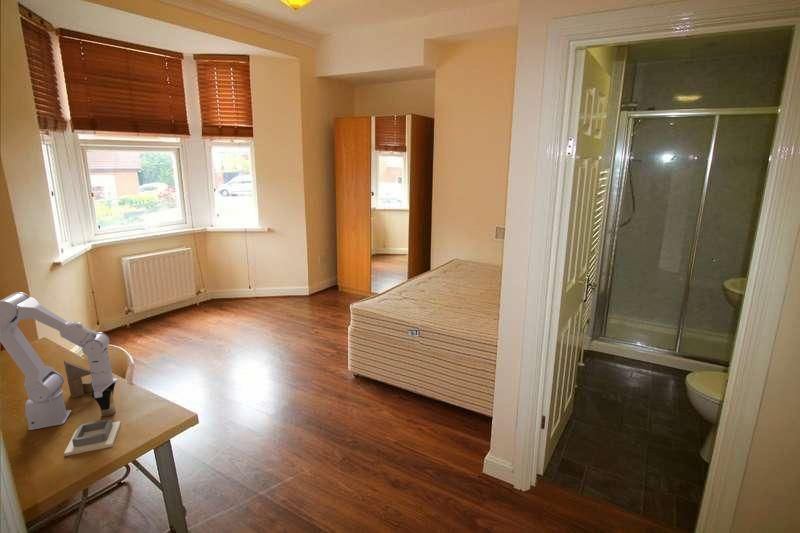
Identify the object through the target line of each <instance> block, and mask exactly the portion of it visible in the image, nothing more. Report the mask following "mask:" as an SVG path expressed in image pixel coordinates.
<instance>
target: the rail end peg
mask: <svg viewBox="0 0 800 533" xmlns="http://www.w3.org/2000/svg"><path fill="white" fill-rule="evenodd" d="M105 390H111V389H105ZM99 408H100V407H99ZM100 413H101V417H110V416H113V415H114V414H115V413H116V404H115V399H114V393H113V392H111V395H110V408H109V409H107V410H102V409H101V408H100Z"/></svg>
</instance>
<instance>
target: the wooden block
mask: <svg viewBox="0 0 800 533" xmlns="http://www.w3.org/2000/svg"><path fill="white" fill-rule="evenodd" d="M63 364H64V365H63V366H64V370H65V373H66V377H67V379H66V380H67V385H68V389H69V393H70V396H71V397H72V398H73V399H74V398H78V397H82V396H84V395H85V393H92V392H94V389H93V387H92V378H91V379H87V380H85V381H83V380H82V379H83V378H82V377H86V376H89V375H90V376H91V373H90V369H89V368H86V367H84V366H80V365H77V364H75V363H73V362H70V361H68V360H66V359H64V360H63Z"/></svg>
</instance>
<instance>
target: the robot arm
mask: <svg viewBox="0 0 800 533" xmlns="http://www.w3.org/2000/svg"><path fill="white" fill-rule="evenodd" d="M30 319H32V320H34V321H37V322H39V323H41V324H43V325H45V326H48V327H50V328H52V329H54V330H56V331H58V332H59V335H60V337H61V338H63V339H65V340H67V341H69V342H70V343H72V344H74V345H76V346H78V347H79V348H81V351H82V352H83V354H84V355H86V357H87V361H88V367H89V370H90V373H91V374H90V377H91V379H92V387H93V389H94V391H93V392H90V396H91V398H93V399H94V401H96V402H97V404H98V406H99V408H101V409H102V410H107V409H109V408H110V395H111V392H113V394H114V391H115V386H116V383H117V382H118V381H119V379H118V377H114V375H113V370H112V365H111V364H112V363H111V358H110V353H109V348H108V346H109V344H110V342H111V340H110V337H109V336H108V335H107V334H106V333H105V332H100V331H99V332H98V331H97V332H96V331H95V330H94V331H93V330H92V329H90V328H88V327H86V326H84V324H83V323H82V322H77V321H67V320H65V319H64V318H63V317H60V316H59V315H58V314H56V313H54V312H52V311H51V310H50V309H48V308H47V307H45V306H43V305H42V304H40V302H38V300H37V299H36V298H34V297H33V296H30V295H28V294H27V293H25V292H21V291H17V292H13V293H11V294H9V295H8V296H6V297H4V298H2V299H0V344H1V345H2V346H3V347H4V349H5V350H6V352H7V353H8V355H9V357H11V359H12V360H13V361H14V363H15V364H16V365H17V368H19V370H20V371H21V372H22V374H23V375H24V376H25V378H24V384H23V387H24V388H25V389H26V390H25V391H26V397H27V398H28V399H27V400H26V402H25V406H24V412H25V418H26V421H27V425H28V428H27V429H28V431H32V430H38V429H43V428H48V427H49V428H50V427H54V426H55V427H56V426H59V425H60V426H61V425H64V424H65V423H66V422H67V420H68V418H69V416H70V414H71V413H72V409H66V404H65V398H64V395H63V390H62V388H61V386H62V387H63V385H64V383H65V377H64V376H63V375H62V374H61V373H60V372H58V371H56V370H55V369H54V367H53V366H48V365H45V363H44V361H43V360H42V359H41V358H40V356H39V355H38V353H37V352H36V350H35V349H34V348H33V346H32V345H31V343H30V341H29V340H28V339H27V337H26V336H25V335H24V333H23V332H22V330H21V329H20V328H19V326H18V324H19V322H20V321H23V320H30ZM105 389H111V390H105ZM101 409H100V410H101Z"/></svg>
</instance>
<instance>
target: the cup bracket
mask: <svg viewBox="0 0 800 533" xmlns="http://www.w3.org/2000/svg"><path fill="white" fill-rule="evenodd" d="M121 425H122V421H121V420H118V421H113V420H112V418H111V419H101V420H96V421H91V422H85V423H83V424H80V425H79V426H78V427H77V429H76V430H75V431H74V433H73V435H72V437H71V439H70V440H69V443H68V445H67V447H66V448H65V451H64V453H63V455H64V457H66V456H72V455H77V454H81V453H87V452H91V451H97V450H102V449H106V448H111V447H113V446H114V444H115V441H116V438H117V436H118V433H119V430H120V427H121Z"/></svg>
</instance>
